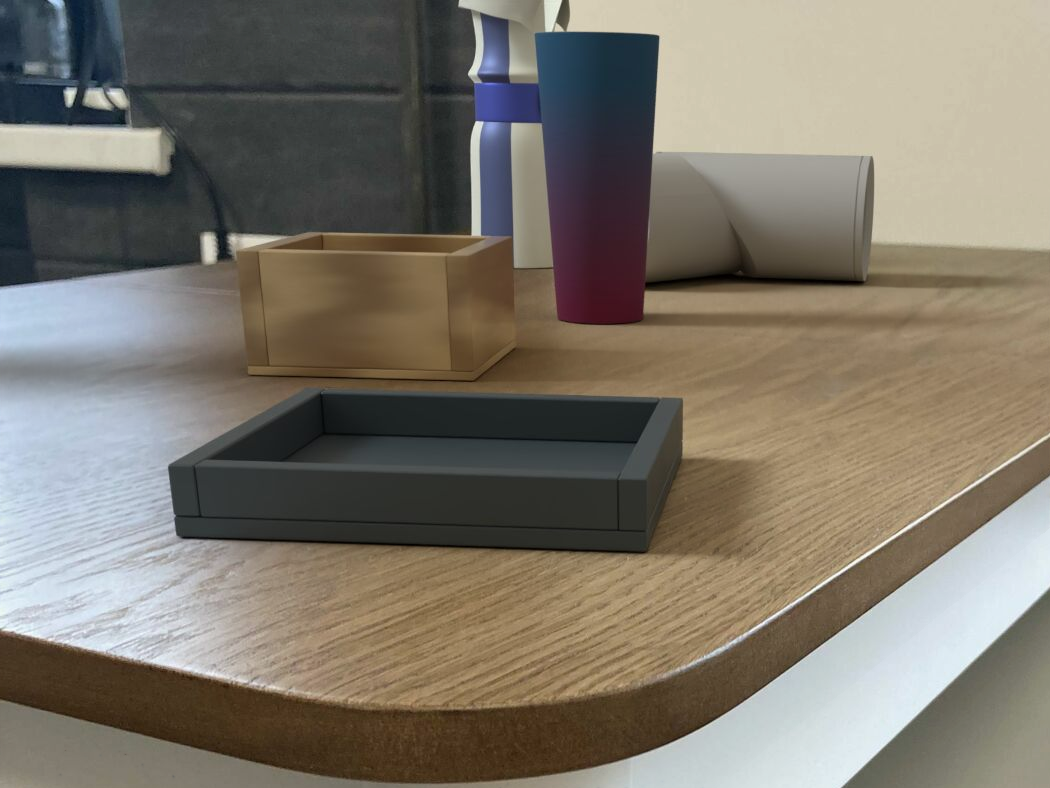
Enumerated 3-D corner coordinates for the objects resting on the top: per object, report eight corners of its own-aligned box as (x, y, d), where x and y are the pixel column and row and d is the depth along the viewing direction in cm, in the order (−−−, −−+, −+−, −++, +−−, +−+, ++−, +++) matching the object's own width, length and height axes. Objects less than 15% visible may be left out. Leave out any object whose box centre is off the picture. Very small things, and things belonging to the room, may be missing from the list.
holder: (247, 374, 69) (235, 250, 67) (317, 341, 78) (307, 231, 76) (474, 380, 68) (468, 255, 66) (516, 346, 78) (512, 236, 75)
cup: (649, 310, 92) (650, 38, 86) (666, 325, 86) (668, 33, 80) (537, 311, 91) (530, 35, 85) (546, 326, 85) (539, 30, 79)
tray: (175, 536, 43) (166, 464, 43) (309, 445, 55) (304, 387, 54) (646, 552, 43) (646, 478, 42) (682, 456, 54) (683, 397, 53)
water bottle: (597, 261, 119) (593, -100, 110) (543, 270, 112) (533, -115, 102) (507, 255, 122) (495, -96, 113) (449, 264, 115) (431, -111, 105)
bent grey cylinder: (721, 243, 120) (539, 259, 106) (747, 103, 115) (558, 100, 101) (899, 314, 112) (726, 342, 98) (936, 167, 106) (759, 174, 92)
